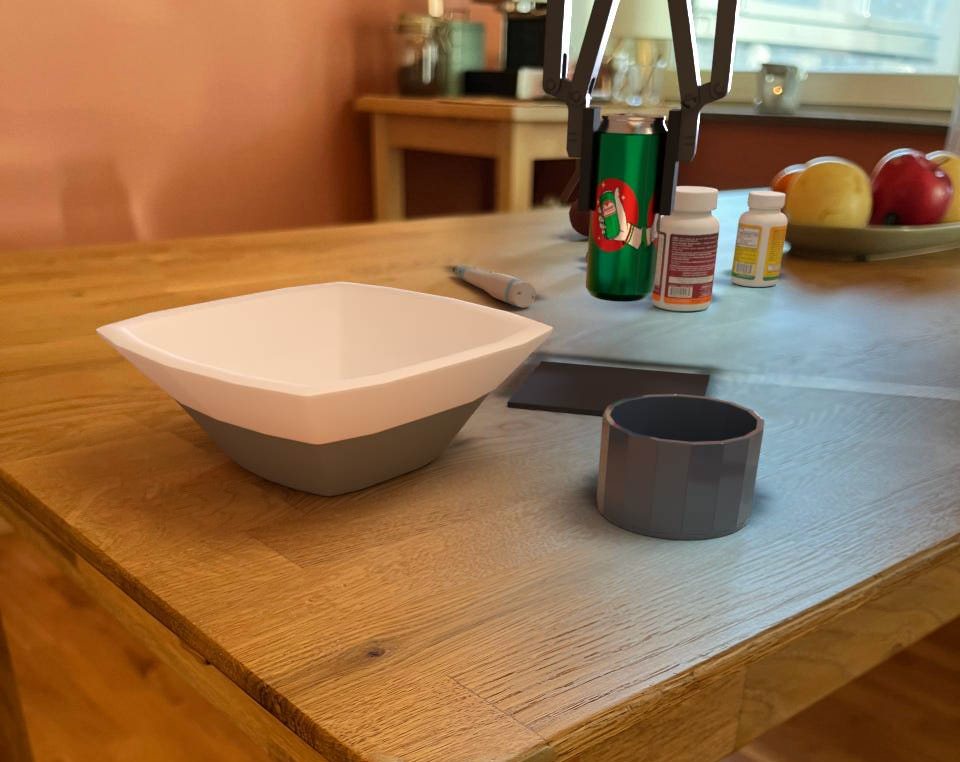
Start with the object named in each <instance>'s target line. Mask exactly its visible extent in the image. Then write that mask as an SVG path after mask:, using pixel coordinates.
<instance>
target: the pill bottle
mask: <svg viewBox="0 0 960 762" xmlns="http://www.w3.org/2000/svg"><path fill="white" fill-rule="evenodd" d="M718 197H719V190H718V189H717V188H714V187H708V186H696V185H695V186H694V185H677V186H676V196H675V206H674V211H673V213H672V214H671V215H670V216H666V215H662V216H661V222H660V233H659V243H658V253H657V264H656V274H655V284H654V290H653V291H652V293H651V303H652V304H653V306H655V307H656V308H659V309H660V310H661V309H662V310H665V311H670V312H697V311H704V310H706V309H708V308H710V306H711V303H712V297H713V289H714V281H715V272H716V263H717V253H718V246H719V237H720V227H721V226H720V225H721V224H720V221H719V219H718V218H717V217H716V216H715V215H713V214H712V211H715V210H716V209H718V199H719V198H718Z"/></svg>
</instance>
